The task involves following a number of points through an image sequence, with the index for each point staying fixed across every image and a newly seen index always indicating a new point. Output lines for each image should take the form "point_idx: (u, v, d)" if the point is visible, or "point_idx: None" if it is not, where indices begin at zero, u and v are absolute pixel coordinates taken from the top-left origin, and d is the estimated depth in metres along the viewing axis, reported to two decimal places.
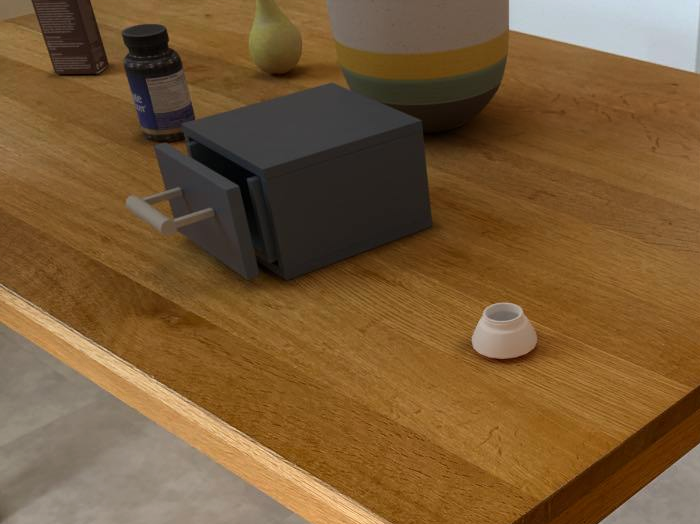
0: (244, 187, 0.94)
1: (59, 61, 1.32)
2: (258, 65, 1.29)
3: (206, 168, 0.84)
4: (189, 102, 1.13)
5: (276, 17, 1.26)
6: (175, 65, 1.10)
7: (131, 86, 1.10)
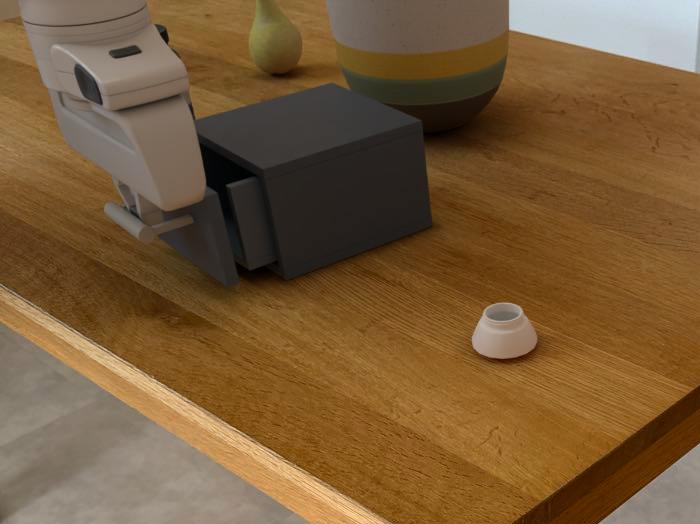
0: (225, 193, 0.93)
1: None
2: (258, 65, 1.29)
3: None
4: (189, 102, 1.13)
5: (276, 17, 1.26)
6: None
7: None
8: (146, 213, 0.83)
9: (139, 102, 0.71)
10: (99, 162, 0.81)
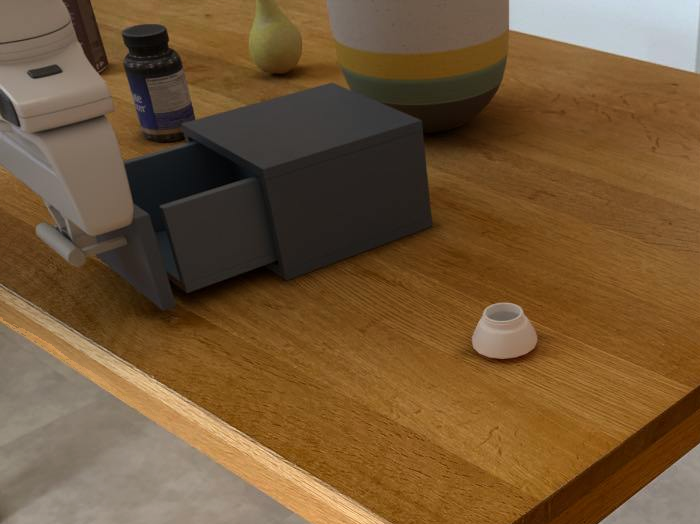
0: None
1: None
2: (258, 65, 1.29)
3: None
4: (189, 102, 1.13)
5: (276, 17, 1.26)
6: (175, 65, 1.10)
7: (131, 86, 1.10)
8: (77, 235, 0.80)
9: (59, 124, 0.69)
10: (28, 183, 0.79)
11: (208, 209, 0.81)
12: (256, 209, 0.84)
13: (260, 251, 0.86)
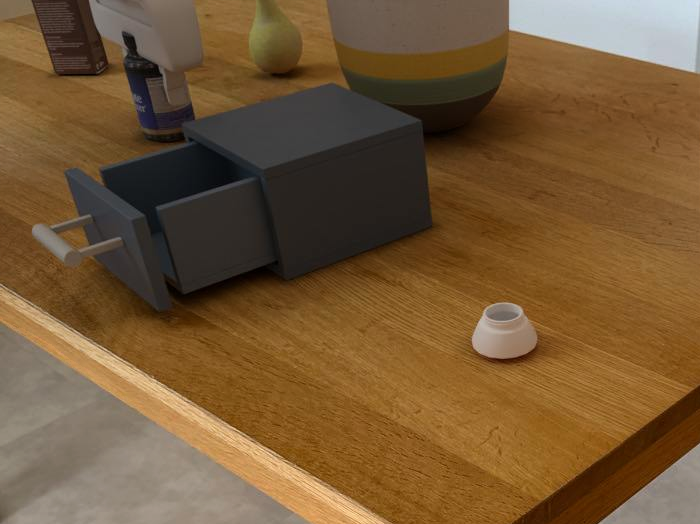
0: None
1: (59, 61, 1.32)
2: (258, 65, 1.29)
3: (114, 196, 0.80)
4: (189, 102, 1.13)
5: (276, 17, 1.26)
6: None
7: (131, 86, 1.10)
8: (171, 88, 1.09)
9: None
10: None
11: (205, 210, 0.81)
12: (253, 210, 0.84)
13: (257, 252, 0.86)
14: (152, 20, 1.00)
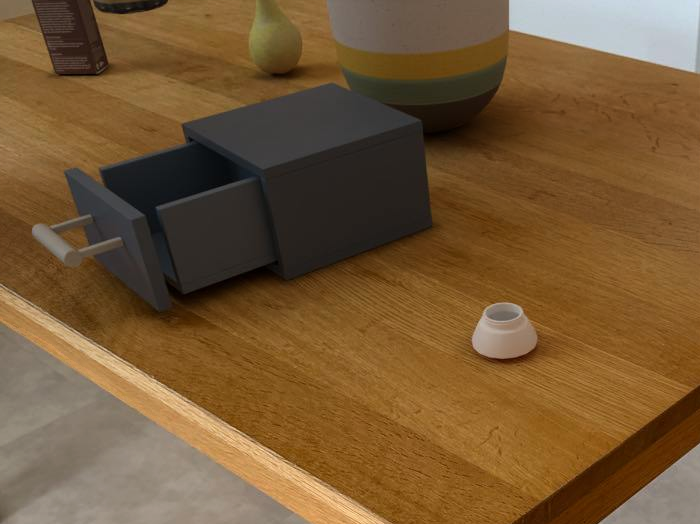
0: None
1: (59, 61, 1.32)
2: (258, 65, 1.29)
3: (114, 196, 0.80)
4: None
5: (276, 17, 1.26)
6: None
7: None
8: None
9: None
10: None
11: (205, 210, 0.81)
12: (253, 210, 0.84)
13: (257, 252, 0.86)
14: None
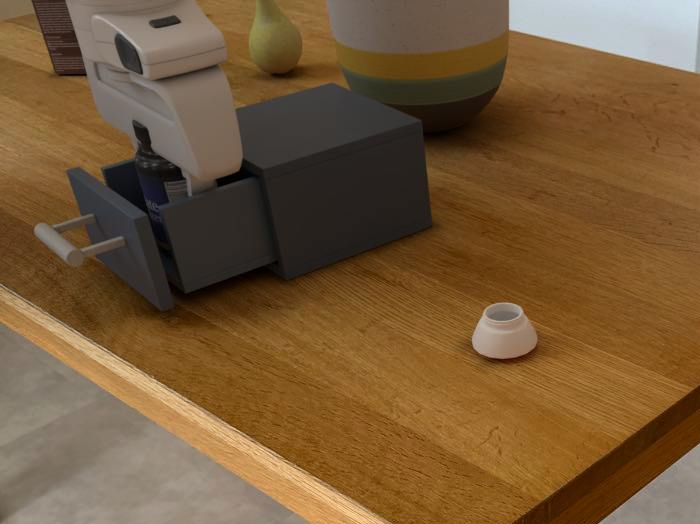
0: None
1: (59, 61, 1.32)
2: (258, 65, 1.29)
3: (116, 195, 0.80)
4: None
5: (276, 17, 1.26)
6: None
7: (144, 190, 0.83)
8: None
9: (179, 71, 0.72)
10: None
11: (207, 209, 0.81)
12: (255, 209, 0.84)
13: (259, 251, 0.86)
14: (174, 115, 0.73)
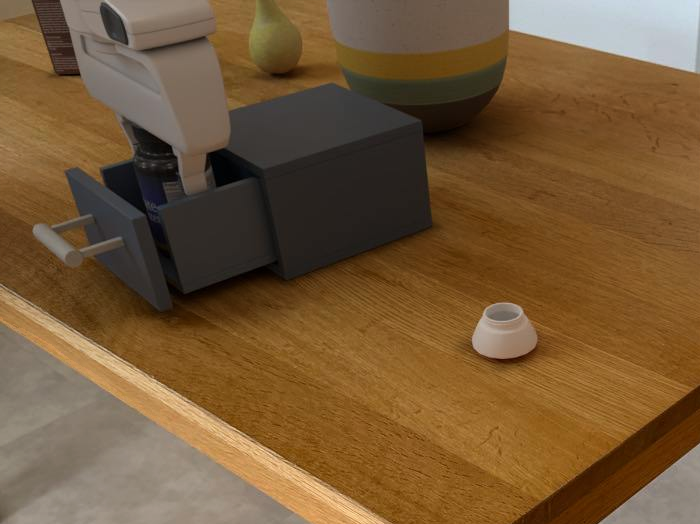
0: None
1: (59, 61, 1.32)
2: (258, 65, 1.29)
3: (115, 195, 0.80)
4: None
5: (276, 17, 1.26)
6: None
7: (143, 191, 0.83)
8: (188, 175, 0.80)
9: (165, 42, 0.70)
10: (122, 109, 0.81)
11: (205, 210, 0.81)
12: (253, 210, 0.84)
13: (257, 252, 0.86)
14: (160, 87, 0.71)
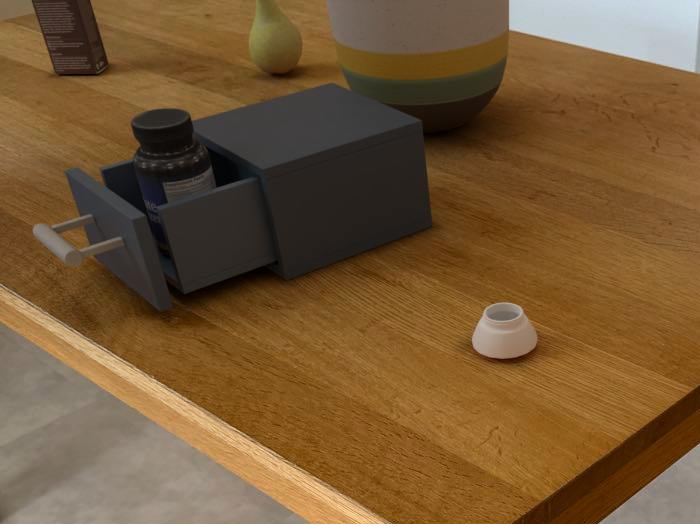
0: None
1: (59, 61, 1.32)
2: (258, 65, 1.29)
3: (115, 195, 0.80)
4: None
5: (276, 17, 1.26)
6: (201, 164, 0.82)
7: (143, 191, 0.83)
8: None
9: None
10: None
11: (205, 210, 0.81)
12: (253, 210, 0.84)
13: (257, 252, 0.86)
14: None
